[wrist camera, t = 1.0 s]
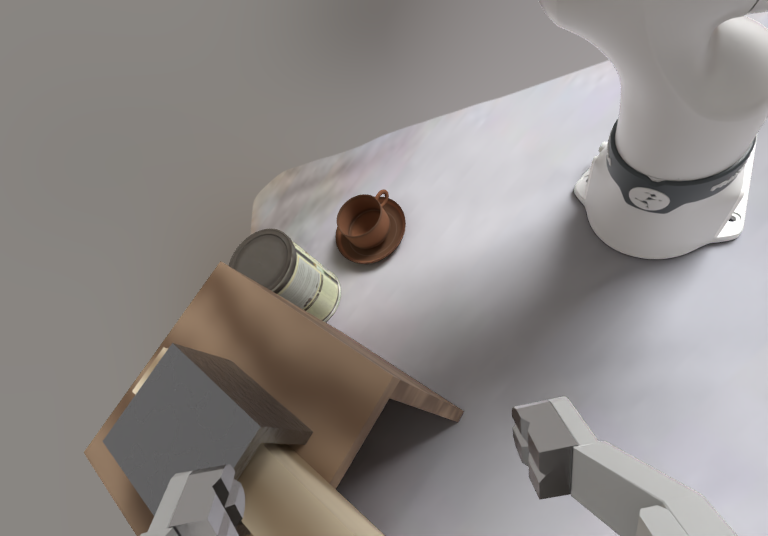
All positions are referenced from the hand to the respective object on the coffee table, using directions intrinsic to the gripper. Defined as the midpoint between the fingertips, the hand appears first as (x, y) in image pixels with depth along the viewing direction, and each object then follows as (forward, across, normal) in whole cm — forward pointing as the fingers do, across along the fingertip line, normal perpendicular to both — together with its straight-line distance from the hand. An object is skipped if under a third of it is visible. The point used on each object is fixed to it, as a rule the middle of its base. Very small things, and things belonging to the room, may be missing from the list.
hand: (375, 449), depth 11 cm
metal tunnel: (+14, +12, +13) cm, 23 cm away
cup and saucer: (+54, -1, +14) cm, 55 cm away
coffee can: (+49, +11, +21) cm, 54 cm away
